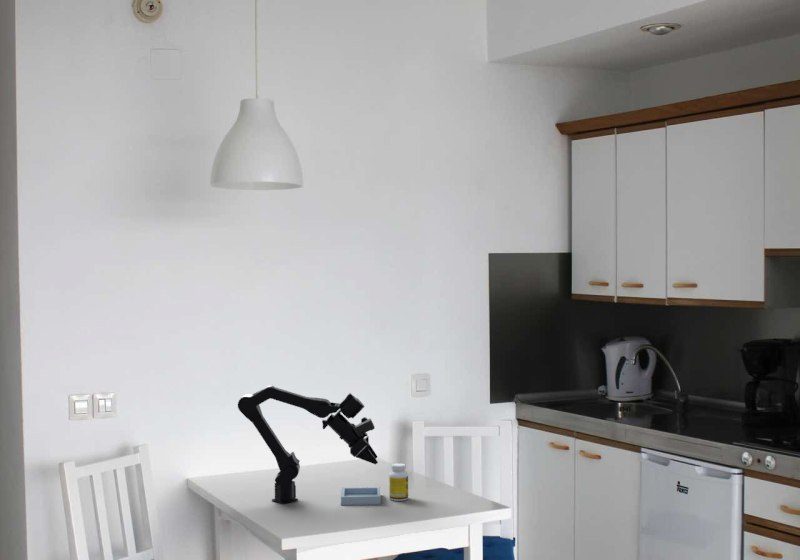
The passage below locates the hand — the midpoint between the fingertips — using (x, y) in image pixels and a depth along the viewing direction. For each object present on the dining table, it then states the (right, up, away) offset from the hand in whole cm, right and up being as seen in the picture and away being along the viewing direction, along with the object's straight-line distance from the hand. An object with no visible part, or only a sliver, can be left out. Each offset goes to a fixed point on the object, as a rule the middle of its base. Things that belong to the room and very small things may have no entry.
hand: (376, 460), depth 308 cm
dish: (-5, -13, 0) cm, 14 cm away
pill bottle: (+7, -13, 0) cm, 15 cm away
